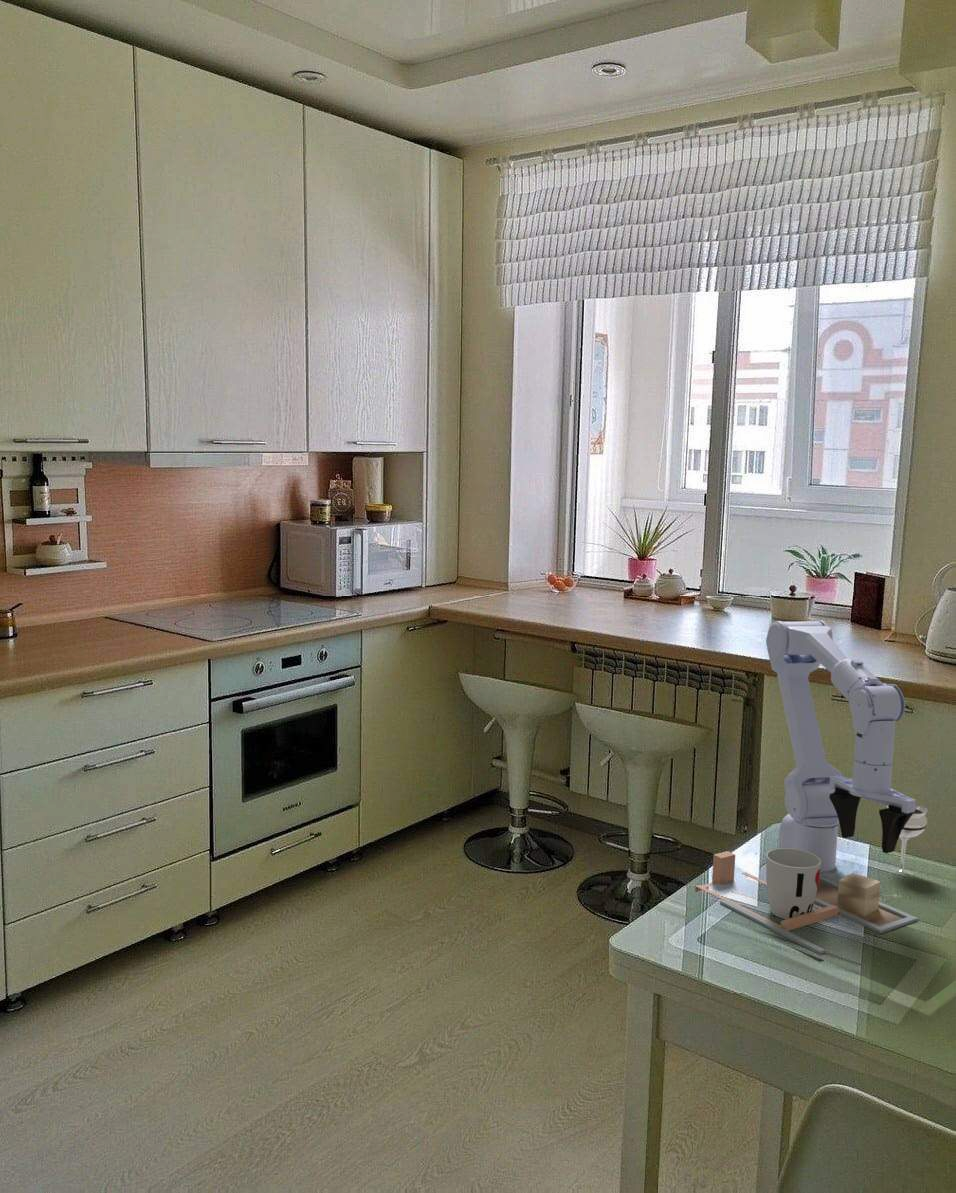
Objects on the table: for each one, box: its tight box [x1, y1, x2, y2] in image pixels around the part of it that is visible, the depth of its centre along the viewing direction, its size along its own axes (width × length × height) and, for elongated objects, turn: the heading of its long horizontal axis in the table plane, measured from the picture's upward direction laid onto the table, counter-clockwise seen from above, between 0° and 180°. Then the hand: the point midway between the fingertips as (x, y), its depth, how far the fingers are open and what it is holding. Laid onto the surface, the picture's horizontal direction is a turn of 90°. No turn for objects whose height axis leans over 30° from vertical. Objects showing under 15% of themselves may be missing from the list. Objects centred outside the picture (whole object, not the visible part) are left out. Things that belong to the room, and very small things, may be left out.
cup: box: [765, 848, 821, 920], centre depth 159 cm, size 8×8×10 cm
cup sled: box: [694, 850, 839, 932], centre depth 164 cm, size 19×12×6 cm, turn 32°
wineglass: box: [885, 803, 928, 876], centre depth 178 cm, size 7×7×12 cm
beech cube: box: [837, 872, 881, 917], centre depth 162 cm, size 4×4×4 cm
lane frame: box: [719, 875, 919, 963], centre depth 160 cm, size 20×22×2 cm
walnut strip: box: [815, 881, 903, 927], centre depth 164 cm, size 17×6×5 cm, turn 32°
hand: (867, 844), depth 164 cm, fingers open, 7 cm apart
